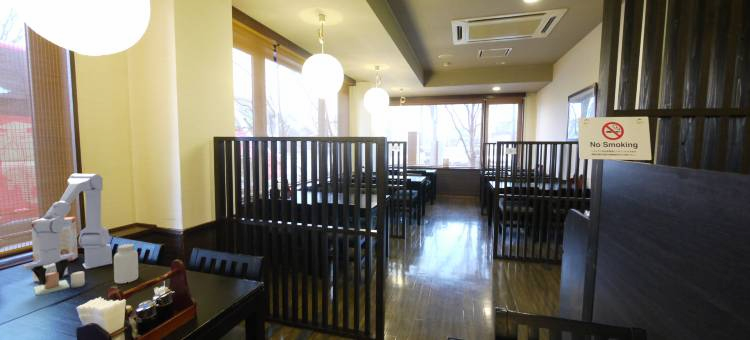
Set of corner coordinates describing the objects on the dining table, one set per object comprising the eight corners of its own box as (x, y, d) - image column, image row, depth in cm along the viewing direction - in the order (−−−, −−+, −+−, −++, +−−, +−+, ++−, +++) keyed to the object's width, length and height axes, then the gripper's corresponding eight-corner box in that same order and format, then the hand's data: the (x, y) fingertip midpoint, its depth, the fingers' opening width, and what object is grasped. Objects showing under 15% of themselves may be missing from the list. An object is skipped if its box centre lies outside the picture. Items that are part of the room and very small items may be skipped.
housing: (57, 273, 135) (56, 259, 135) (68, 274, 134) (68, 260, 134) (32, 281, 126) (31, 267, 126) (44, 283, 126) (43, 268, 125)
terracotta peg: (59, 283, 124) (59, 271, 124) (58, 286, 121) (58, 274, 121) (45, 286, 122) (45, 273, 122) (43, 289, 119) (43, 276, 119)
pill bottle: (142, 277, 133) (142, 244, 132) (122, 285, 126) (121, 249, 124) (130, 274, 136) (129, 241, 135) (109, 282, 128) (108, 247, 127)
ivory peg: (83, 282, 127) (83, 270, 127) (85, 285, 125) (85, 273, 125) (70, 285, 124) (69, 273, 124) (71, 288, 122) (71, 276, 121)
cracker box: (78, 257, 154) (76, 216, 152) (72, 261, 149) (70, 218, 147) (40, 260, 148) (38, 218, 146) (32, 265, 143) (30, 221, 141)
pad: (65, 281, 128) (65, 279, 128) (69, 287, 122) (69, 286, 122) (33, 288, 121) (33, 286, 121) (36, 295, 115) (36, 294, 115)
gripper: (67, 241, 129) (68, 273, 130) (17, 252, 115) (19, 287, 116) (77, 243, 126) (78, 275, 127) (28, 255, 113) (30, 290, 114)
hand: (51, 281), depth 121 cm, fingers open, 4 cm apart
